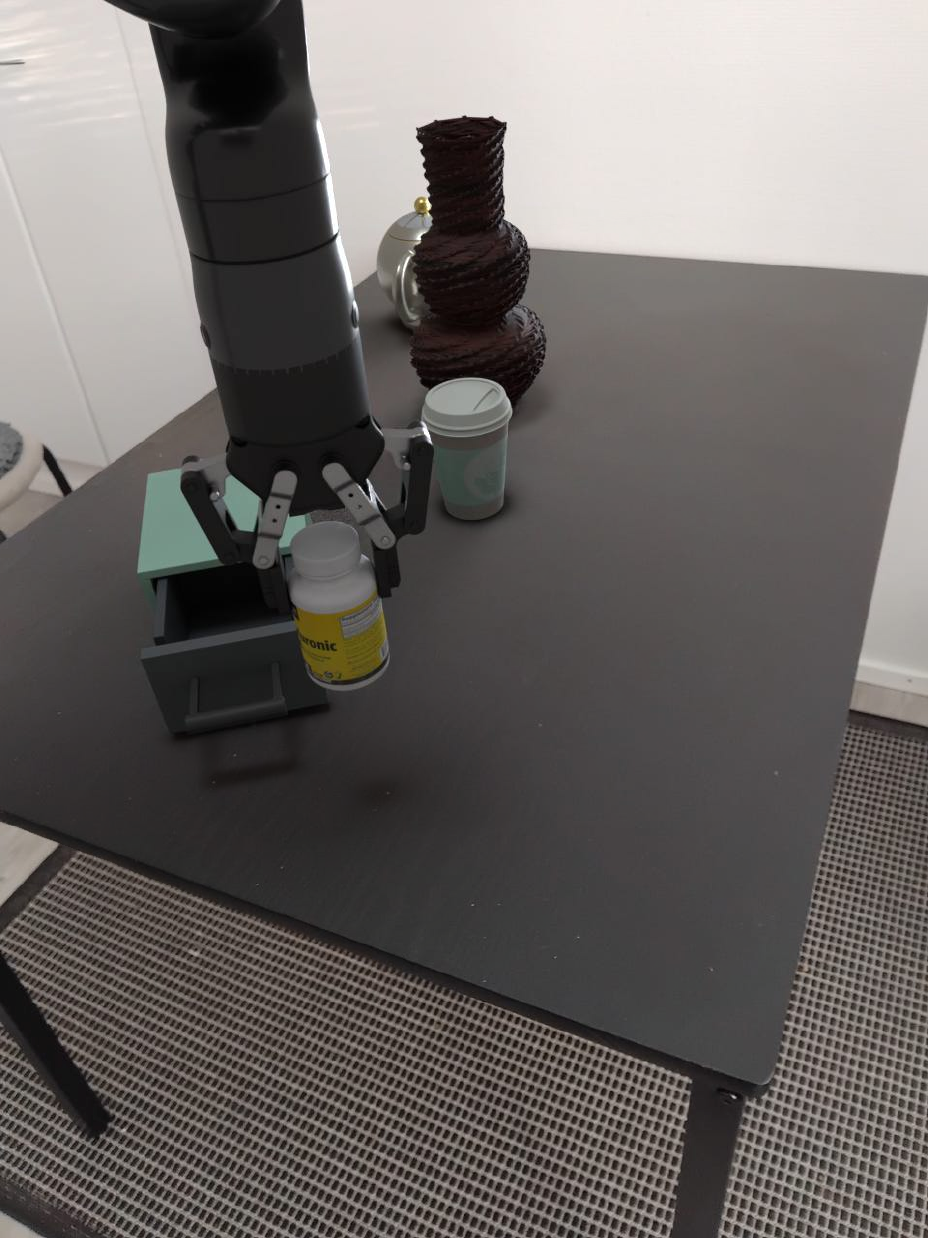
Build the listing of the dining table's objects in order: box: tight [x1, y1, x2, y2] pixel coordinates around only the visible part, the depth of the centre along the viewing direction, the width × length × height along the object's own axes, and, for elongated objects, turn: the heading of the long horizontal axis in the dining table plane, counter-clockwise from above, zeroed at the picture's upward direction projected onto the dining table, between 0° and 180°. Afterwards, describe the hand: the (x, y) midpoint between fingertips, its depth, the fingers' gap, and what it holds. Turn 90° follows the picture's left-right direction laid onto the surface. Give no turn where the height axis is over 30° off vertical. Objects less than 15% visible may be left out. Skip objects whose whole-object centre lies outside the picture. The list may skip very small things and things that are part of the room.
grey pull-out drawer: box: [140, 554, 330, 735], centre depth 77 cm, size 20×12×8 cm, turn 11°
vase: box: [408, 114, 547, 413], centre depth 104 cm, size 15×15×30 cm
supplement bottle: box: [287, 520, 391, 692], centre depth 59 cm, size 5×5×10 cm
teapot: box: [376, 196, 440, 331], centre depth 128 cm, size 18×14×16 cm
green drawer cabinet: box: [136, 467, 313, 620], centre depth 87 cm, size 16×14×10 cm
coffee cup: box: [420, 378, 513, 521], centre depth 94 cm, size 8×8×12 cm
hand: (334, 597), depth 59 cm, fingers closed on supplement bottle, 5 cm apart
